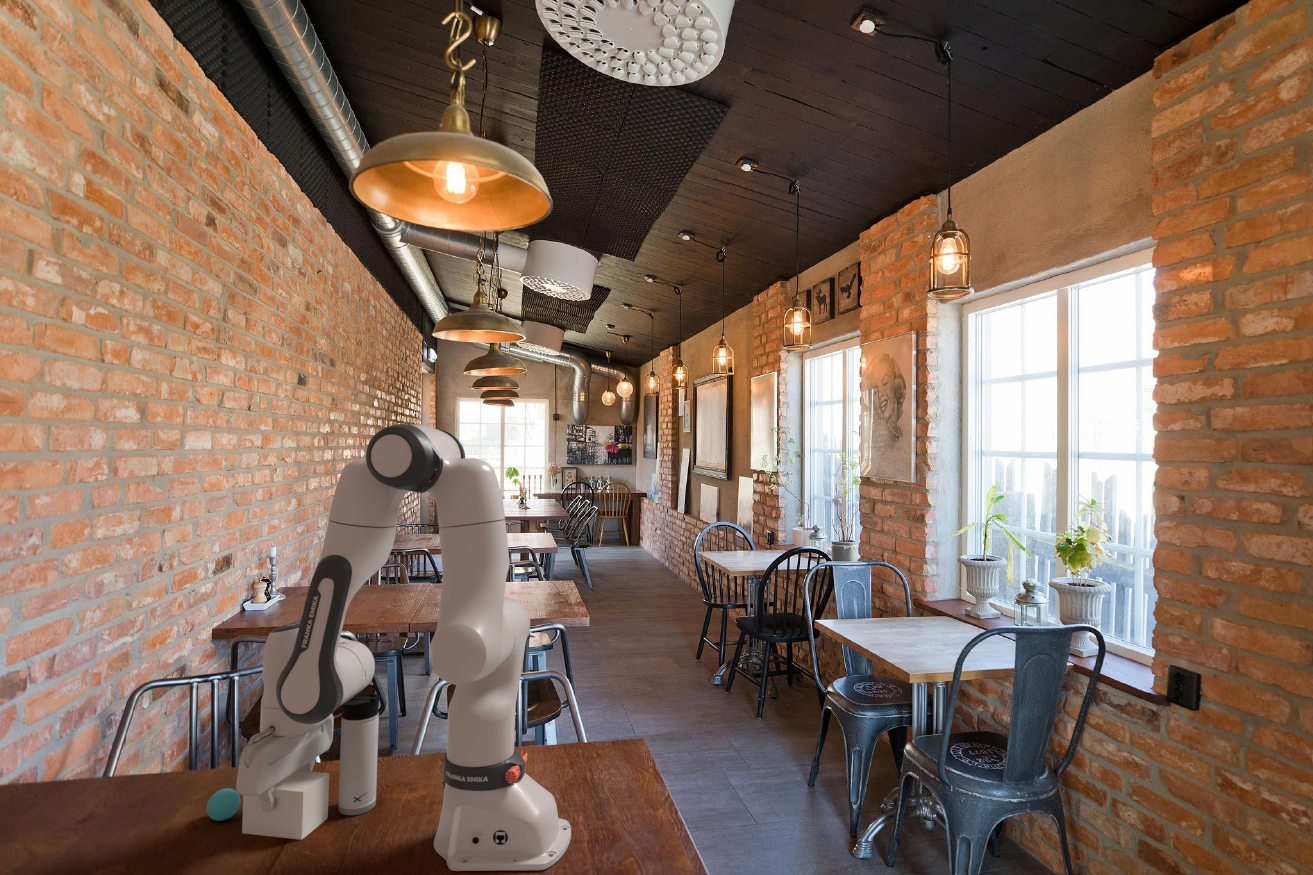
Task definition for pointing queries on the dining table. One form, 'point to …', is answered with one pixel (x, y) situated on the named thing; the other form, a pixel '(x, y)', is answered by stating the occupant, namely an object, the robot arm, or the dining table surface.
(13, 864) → the dining table surface
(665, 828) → the dining table surface
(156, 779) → the dining table surface
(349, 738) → the travel mug
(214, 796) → the ball
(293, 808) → the off-white rectangular block
